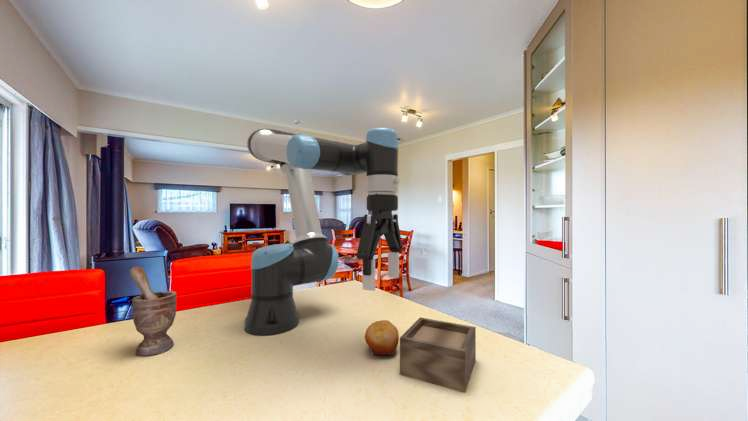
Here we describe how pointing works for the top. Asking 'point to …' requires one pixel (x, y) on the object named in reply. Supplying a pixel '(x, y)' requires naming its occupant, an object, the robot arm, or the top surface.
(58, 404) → the top surface
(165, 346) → the mortar and pestle
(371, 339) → the fruit
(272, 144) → the robot arm
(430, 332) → the open wooden box
